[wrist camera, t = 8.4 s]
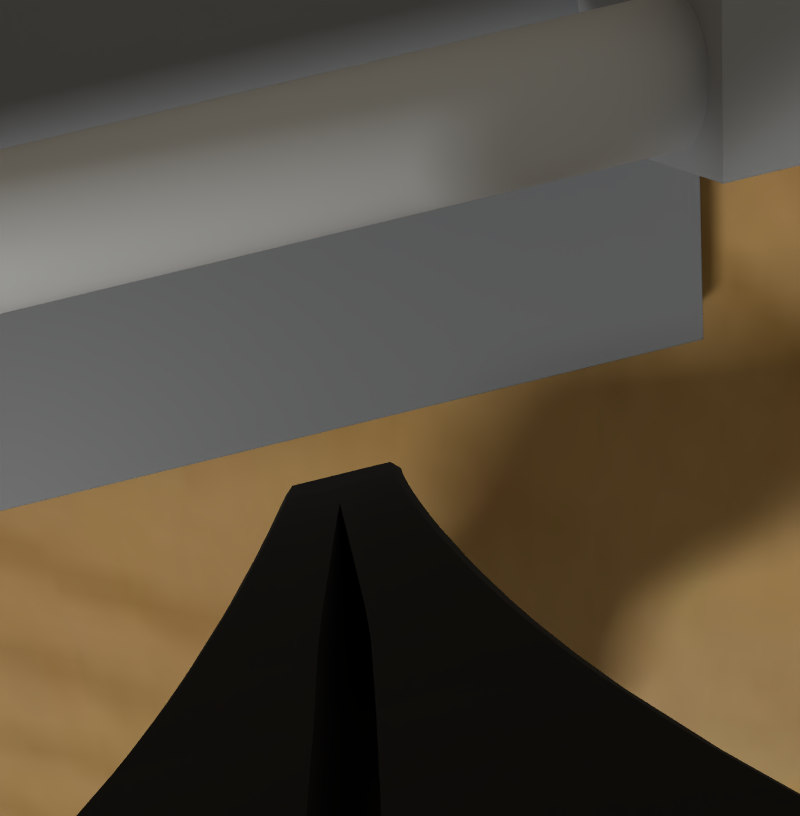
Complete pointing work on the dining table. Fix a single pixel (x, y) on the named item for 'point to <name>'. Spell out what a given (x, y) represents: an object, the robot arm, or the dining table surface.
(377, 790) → the robot arm
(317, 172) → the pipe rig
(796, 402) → the dining table surface
